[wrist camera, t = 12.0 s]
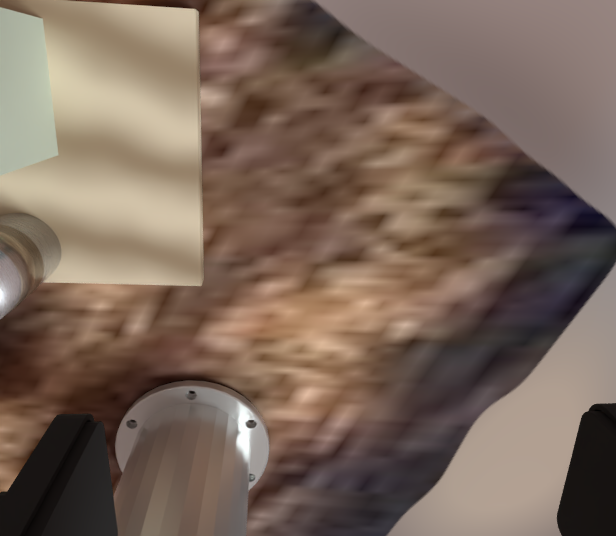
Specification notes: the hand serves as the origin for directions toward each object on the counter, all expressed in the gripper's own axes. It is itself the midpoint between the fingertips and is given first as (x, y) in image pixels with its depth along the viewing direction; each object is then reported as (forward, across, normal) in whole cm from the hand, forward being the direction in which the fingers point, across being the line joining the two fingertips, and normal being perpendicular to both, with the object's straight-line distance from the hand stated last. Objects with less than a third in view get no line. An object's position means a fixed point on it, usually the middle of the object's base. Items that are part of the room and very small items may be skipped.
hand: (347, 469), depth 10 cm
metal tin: (+27, +18, +4) cm, 33 cm away
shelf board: (+28, +14, -2) cm, 32 cm away
